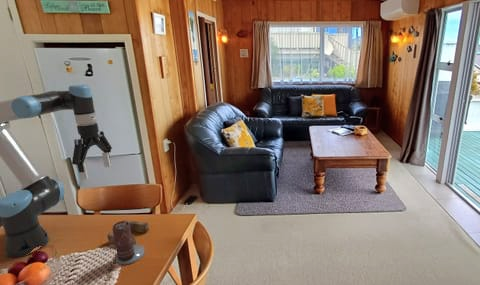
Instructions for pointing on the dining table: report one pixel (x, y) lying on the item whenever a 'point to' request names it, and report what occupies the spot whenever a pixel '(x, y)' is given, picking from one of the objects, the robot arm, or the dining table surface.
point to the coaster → (138, 255)
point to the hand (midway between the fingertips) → (97, 172)
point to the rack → (133, 227)
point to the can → (123, 241)
